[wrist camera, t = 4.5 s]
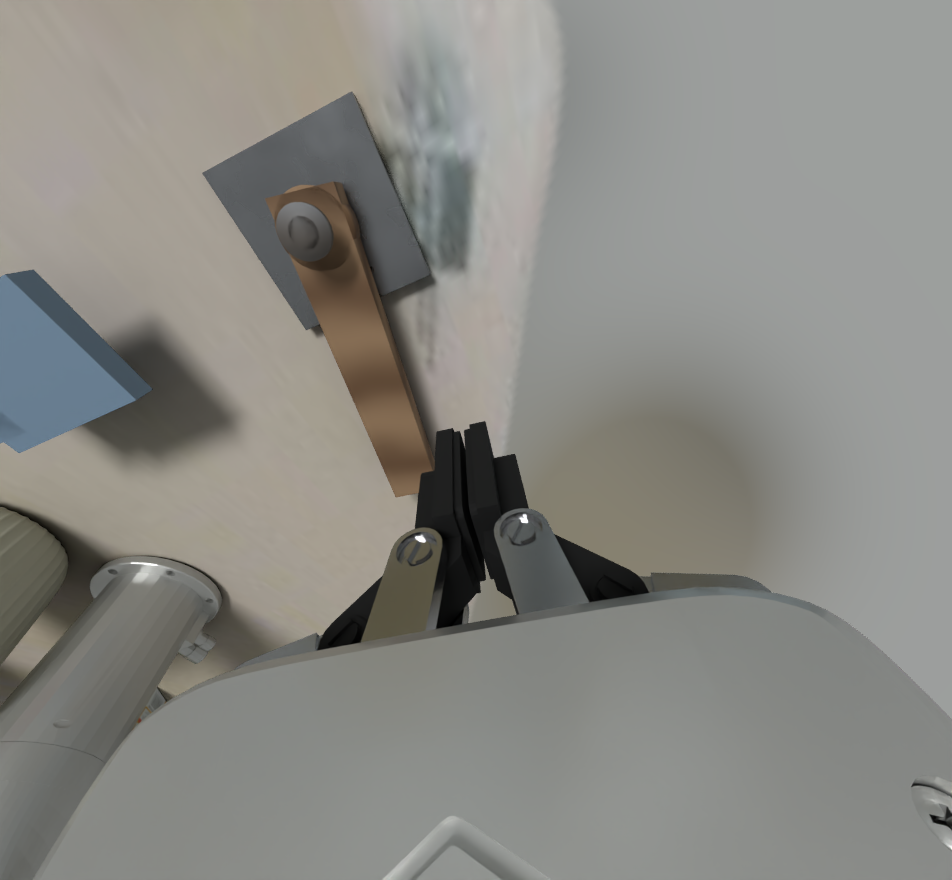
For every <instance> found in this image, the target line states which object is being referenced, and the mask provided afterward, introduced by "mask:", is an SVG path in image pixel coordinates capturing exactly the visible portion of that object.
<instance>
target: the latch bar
mask: <svg viewBox="0 0 952 880" xmlns="http://www.w3.org/2000/svg"><path fill="white" fill-rule="evenodd" d="M265 200H266V202H267V205H268V207H269V209H270V212H271V214H272V216H273V218H274V221H275V228H276V232H277V235H278V238H279V240H280V242H281V244H282V246H283V247H284V249H285V250H286V252H287V253H288V254H289V255H290V257H291V259H292V262H293V264H294V266H295V269H296V271H297V273H298V275H299V278H300V280H301V282H302V285H303V287H304V289H305V291H306V294H307V296H308V298H309V301H310V303H311V305H312V307H313V310H314V312H315V314H316V316H317V319H318V321H319V323H320V326H321V328H322V330H323V332H324V335H325V337H326V339H327V342H328V344H329V346H330V348H331V351H332V353H333V355H334V358H335V360H336V362H337V364H338V367H339V369H340V371H341V373H342V376H343V378H344V380H345V383H346V385H347V387H348V389H349V392H350V394H351V396H352V399H353V401H354V403H355V405H356V408H357V410H358V412H359V415H360V417H361V419H362V421H363V424H364V426H365V428H366V431H367V433H368V435H369V437H370V440H371V442H372V444H373V446H374V449H375V451H376V453H377V456H378V458H379V460H380V462H381V465H382V467H383V469H384V472H385V474H386V476H387V478H388V481H389V483H390V485H391V488H392V490H393V492H394V494H395V497H400V496H405V495H410V494H415V493H419V485H420V477H421V474H422V473H425V472H430V471H434V469H435V461H434V458H433V455H432V452H431V449H430V446H429V443H428V440H427V437H426V434H425V431H424V428H423V425H422V422H421V419H420V416H419V413H418V410H417V407H416V404H415V401H414V398H413V395H412V392H411V389H410V386H409V383H408V380H407V377H406V374H405V371H404V368H403V365H402V362H401V359H400V356H399V353H398V350H397V347H396V344H395V341H394V338H393V335H392V332H391V329H390V326H389V323H388V320H387V317H386V314H385V311H384V308H383V305H382V302H381V299H380V296H379V293H378V290H377V287H376V284H375V281H374V278H373V275H372V272H371V269H370V266H369V263H368V260H367V257H366V254H365V251H364V248H363V245H362V242H361V239H360V229H359V224H358V220H357V218H356V215H355V213H354V211H353V209H352V208H351V206H350V205H349V203H348V200H347V197H346V194H345V191H344V188H343V185H342V183H340V182H334V181H333V182H329V183H325V184H321V185H317V186H313V185H298V186H295V187H292V188H290V189H289V190H287V191H286V192H285V193H284V194H281V195H277V196H273V197H269V198H265Z"/></svg>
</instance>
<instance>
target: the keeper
mask: <svg viewBox="0 0 952 880" xmlns="http://www.w3.org/2000/svg"><path fill="white" fill-rule="evenodd" d="M151 390H153V389H152V388H151V387H150V386H149V385H148V384H147V383H146V382H145V381H144V380H143V379H142V378H141V377H140V376H139V375H138V374H137V373H136V372H135V371H134V370H133V369H132V368H131V367H130V366H129V365H128V364H127V363H126V362H125V361H124V360H123V359H122V358H121V357H120V356H119V355H118V354H117V353H116V352H115V351H114V350H113V349H112V348H111V347H110V346H109V345H108V344H107V343H106V342H105V341H104V340H103V339H102V338H101V337H100V336H99V335H98V334H97V333H96V332H95V331H94V330H93V329H92V328H91V327H90V326H89V325H88V324H87V323H86V322H85V321H84V320H83V319H82V318H81V317H80V316H79V315H78V314H77V313H76V312H75V311H74V310H73V309H72V308H71V307H70V306H69V305H68V304H67V303H66V302H65V301H64V300H63V299H62V298H61V297H60V296H59V295H58V294H57V293H56V292H55V291H54V290H53V289H52V288H51V287H50V286H49V285H48V284H47V283H46V282H45V281H44V280H43V279H42V278H41V277H40V276H39V275H38V274H37V273H36V272H35V271H34V270H29V271H23V272H17V273H11V274H5V275H3V276H1V277H0V443H3V442H4V443H6V444H7V445H8V446H10V447H11V448H13V449H14V450H15V451H17V452H18V453H21V452H23V451H25V450H27V449H30V448H32V447H34V446H36V445H38V444H41V443H43V442H45V441H47V440H49V439H52V438H54V437H56V436H58V435H61V434H63V433H65V432H67V431H69V430H72V429H74V428H76V427H78V426H80V425H83V424H85V423H87V422H89V421H92V420H94V419H96V418H98V417H100V416H103V415H105V414H107V413H109V412H111V411H114V410H116V409H118V408H120V407H122V406H125V405H127V404H129V403H131V402H134V401H136V400H137V399H139V398H141V397H142V396H144V395H145V394H147V393H148V392H150V391H151Z"/></svg>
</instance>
